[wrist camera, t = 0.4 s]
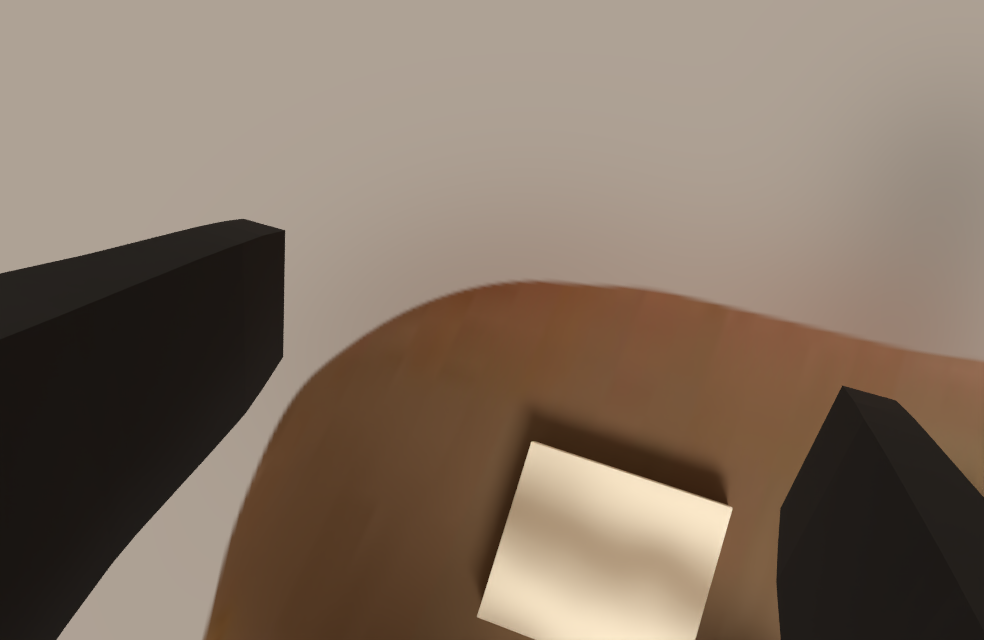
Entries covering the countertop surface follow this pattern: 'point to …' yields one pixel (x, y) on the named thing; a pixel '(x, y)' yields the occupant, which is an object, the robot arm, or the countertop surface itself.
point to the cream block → (602, 554)
